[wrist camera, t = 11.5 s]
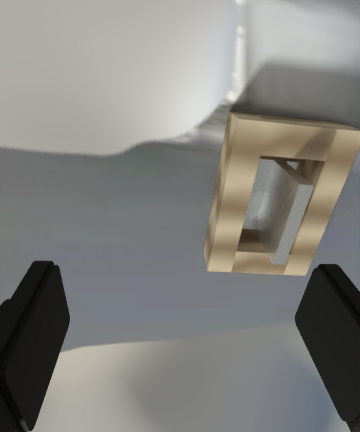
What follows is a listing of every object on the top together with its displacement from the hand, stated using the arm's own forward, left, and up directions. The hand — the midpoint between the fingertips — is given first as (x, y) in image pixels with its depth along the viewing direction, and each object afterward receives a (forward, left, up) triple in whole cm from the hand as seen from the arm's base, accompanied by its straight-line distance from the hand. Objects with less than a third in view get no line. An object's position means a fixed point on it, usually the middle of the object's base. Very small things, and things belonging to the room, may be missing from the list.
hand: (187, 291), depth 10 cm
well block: (+7, +13, -26) cm, 30 cm away
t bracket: (+7, +13, -26) cm, 30 cm away
